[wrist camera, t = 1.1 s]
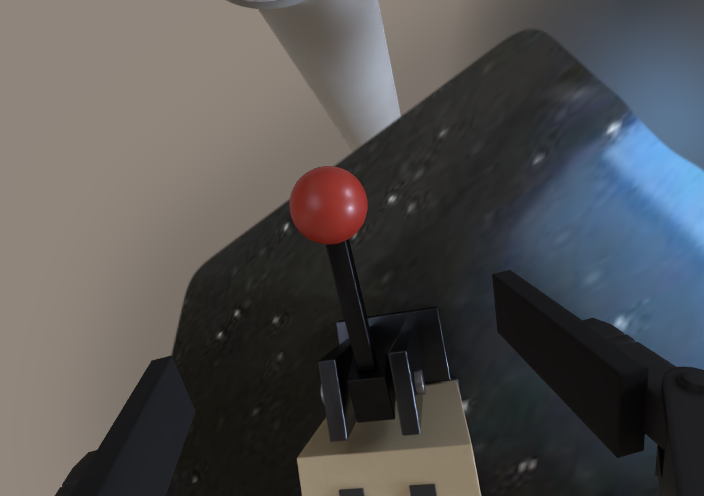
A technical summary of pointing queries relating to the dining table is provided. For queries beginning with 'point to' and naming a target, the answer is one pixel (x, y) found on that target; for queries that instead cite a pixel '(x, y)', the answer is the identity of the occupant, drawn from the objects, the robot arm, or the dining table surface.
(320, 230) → the lever
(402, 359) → the lever bracket
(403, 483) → the toaster
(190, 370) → the dining table surface
